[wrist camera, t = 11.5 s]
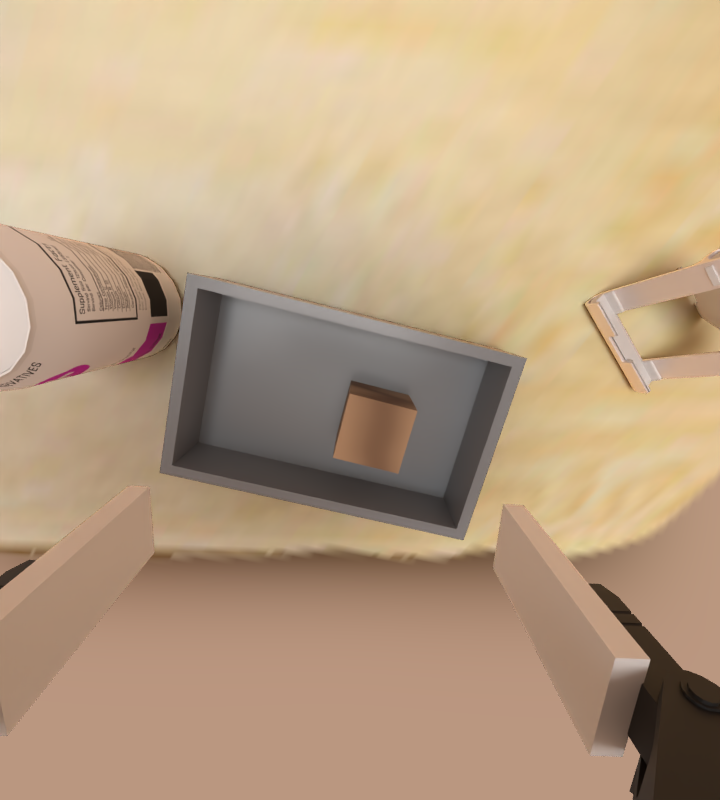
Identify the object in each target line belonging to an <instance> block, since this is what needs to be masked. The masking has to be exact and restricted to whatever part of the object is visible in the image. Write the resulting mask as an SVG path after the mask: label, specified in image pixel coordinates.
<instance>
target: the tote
mask: <svg viewBox="0 0 720 800" xmlns="http://www.w3.org/2000/svg"><path fill="white" fill-rule="evenodd" d="M526 359H527V358H524V357H521V356H517V355H514V354H511V353H508V352H505V351H502V350H499V349H496V348H492V347H488V346H484V345H480V344H476V343H472V342H468V341H464V340H460V339H456V338H452V337H449V336H445V335H441V334H437V333H433V332H429V331H425V330H421V329H417V328H413V327H409V326H405V325H401V324H397V323H393V322H389V321H385V320H381V319H377V318H373V317H370V316H366V315H362V314H358V313H354V312H350V311H346V310H342V309H338V308H334V307H330V306H326V305H322V304H318V303H314V302H310V301H306V300H302V299H298V298H295V297H291V296H287V295H283V294H279V293H275V292H271V291H267V290H263V289H259V288H255V287H251V286H247V285H243V284H239V283H235V282H231V281H227V280H223V279H220V278H215V277H209V276H203V275H197V274H192V273H187V279H186V286H185V293H184V300H183V308H182V315H181V322H180V329H179V337H178V344H177V351H176V358H175V366H174V373H173V380H172V387H171V394H170V402H169V409H168V416H167V423H166V431H165V438H164V445H163V452H162V460H161V467H160V473H163V474H168V475H172V476H177V477H181V478H186V479H190V480H195V481H199V482H204V483H208V484H213V485H217V486H222V487H226V488H231V489H235V490H240V491H244V492H249V493H253V494H258V495H262V496H267V497H271V498H276V499H280V500H285V501H289V502H294V503H298V504H303V505H307V506H312V507H316V508H321V509H325V510H330V511H334V512H339V513H343V514H348V515H352V516H357V517H361V518H366V519H370V520H375V521H379V522H384V523H388V524H393V525H397V526H402V527H406V528H411V529H415V530H420V531H424V532H429V533H433V534H438V535H442V536H447V537H451V538H456V539H460V540H464V537H465V534H466V531H467V529H468V526H469V523H470V520H471V517H472V514H473V511H474V509H475V506H476V503H477V500H478V497H479V494H480V491H481V488H482V486H483V483H484V480H485V477H486V474H487V471H488V468H489V465H490V463H491V460H492V457H493V454H494V451H495V448H496V445H497V443H498V440H499V437H500V434H501V431H502V428H503V425H504V422H505V420H506V417H507V414H508V411H509V408H510V405H511V402H512V399H513V397H514V394H515V391H516V388H517V385H518V382H519V379H520V376H521V374H522V371H523V368H524V365H525V362H526ZM351 380H352V381H356V382H360V383H364V384H368V385H372V386H375V387H379V388H383V389H387V390H391V391H395V392H399V393H403V394H406V395H409V396H410V398H411V400H412V402H413V403H414V405H415V407H416V409H417V414H416V418H415V421H414V424H413V427H412V431H411V434H410V437H409V440H408V443H407V447H406V450H405V453H404V456H403V460H402V463H401V466H400V469H399V473H398V474H397V473H393V472H389V471H385V470H381V469H377V468H373V467H369V466H365V465H361V464H357V463H352V462H348V461H344V460H340V459H336V458H333V454H334V448H335V442H336V436H337V432H338V428H339V425H340V421H341V417H342V413H343V409H344V406H345V402H346V398H347V394H348V390H349V386H350V383H351Z"/></svg>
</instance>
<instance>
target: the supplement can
mask: <svg viewBox="0 0 720 800" xmlns="http://www.w3.org/2000/svg"><path fill="white" fill-rule="evenodd" d="M180 322H181V300H180V297H179V295H178V292H177V290H176V287H175V285H174V282H173V281H172V280H171V278H170V277H169V276H168V275H167V274H166V272H165V271H164V270H163V269H162V267H161V266H159V265H157V264H156V263H154V262H153V261H151V260H150V259H148V258H146V257H145V256H142V255H138V254H134V253H130V252H126V251H121V250H117V249H112V248H107V247H103V246H98V245H94V244H89V243H85V242H80V241H76V240H71V239H66V238H62V237H57V236H53V235H48V234H44V233H39V232H35V231H30V230H25V229H21V228H16V227H12V226H7V225H3V224H0V391H8V390H16V389H24V388H28V387H32V386H35V385H39V384H43V383H47V382H51V381H55V380H59V379H63V378H67V377H71V376H75V375H78V374H82V373H86V372H90V371H94V370H98V369H102V368H106V367H110V366H114V365H118V364H121V363H125V362H129V361H133V360H137V359H141V358H145V357H149V356H152V355H154V354H156V353H157V352H159V351H161V350H163V349H165V348H166V347H167V346H168V345H169V343H170V342H171V341H172V340H173V339H174V337H175V336H176V335H177V331H178V328H179V325H180Z"/></svg>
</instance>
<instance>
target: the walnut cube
mask: <svg viewBox="0 0 720 800" xmlns="http://www.w3.org/2000/svg"><path fill="white" fill-rule="evenodd" d="M416 414H417V409H416V407H415V405H414V403H413V402H412V400H411V398H410V396H409V395H406V394H403V393H399V392H395V391H391V390H387V389H383V388H379V387H375V386H372V385H368V384H364V383H360V382H356V381H352V380H351V383H350V386H349V390H348V394H347V398H346V402H345V406H344V409H343V413H342V417H341V421H340V425H339V428H338V432H337V436H336V442H335V448H334V454H333V458H336V459H340V460H344V461H348V462H352V463H357V464H361V465H365V466H369V467H373V468H377V469H381V470H385V471H389V472H393V473H397V474H398V473H399V469H400V466H401V463H402V460H403V456H404V453H405V450H406V447H407V443H408V440H409V437H410V434H411V431H412V427H413V424H414V421H415V418H416Z"/></svg>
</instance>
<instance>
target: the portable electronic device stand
mask: <svg viewBox="0 0 720 800" xmlns="http://www.w3.org/2000/svg"><path fill="white" fill-rule="evenodd" d="M689 295H694V296H695V298H696V300H697V302H696V303H695V306H696V308H697V310H698V312H699V314H700V316H701V317H702V318H703V319H705V320H706V321H707V322H709V323H710V324H712V325H714V326H715V327H717V328H718V329H720V248H718V249H716V250H714V251H712V252H711V253H709V254H708V255H707V256H706V257H704V258H703V259H702V260H701V261H700V262H698V263H696V264H694V265H691V266H689V267H686V268H682V267H680V268H678V269H677V270H675V271H672V272H669V273H665V274H662V275H659V276H655V277H652V278H649V279H645V280H642V281H639V282H635V283H632V284H629V285H625V286H622V287H619V288H615V289H612V290H608V291H605V292H602V293H600V294H598V295H596V296H594V297H592V298H591V299H589V300H588V301H587V302H586V303H585V306H586V307H587V309H588V311H589V313H590V314H591V316H592V318H593V320H594V321H595V323H596V325H597V327H598V329H599V330H600V332H601V334H602V336H603V337H604V339H605V341H606V343H607V344H608V346H609V348H610V350H611V351H612V353H613V355H614V357H615V358H616V360H617V362H618V364H619V365H620V367H621V369H622V371H623V372H624V374H625V376H626V378H627V379H628V381H629V383H630V385H631V386H632V388H633V390H634V391H636V392H641V393H648V392H650V388H649V386H648V385H649V384H650V383H651V381H657V380H661V379H673V378H689V377H706V376H720V351H716V352H707V353H698V354H689V355H680V356H671V357H662V358H653V359H642V358H641V356H640V355H639V353H638V351H637V349H636V347H635V346H634V344H633V342H632V340H631V338H630V337H629V335H628V333H627V331H626V329H625V328H624V326H623V324H622V322H621V320H620V319H619V317H618V315H617V314H618V313H622V312H624V311H626V310H630V309H634V308H639V307H643V306H647V305H651V304H656V303H660V302H664V301H668V300H672V299H677V298H681V297H685V296H689Z"/></svg>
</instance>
